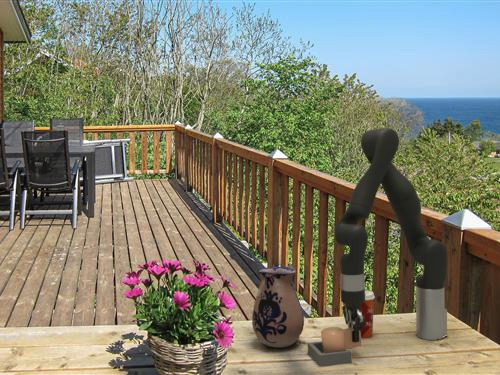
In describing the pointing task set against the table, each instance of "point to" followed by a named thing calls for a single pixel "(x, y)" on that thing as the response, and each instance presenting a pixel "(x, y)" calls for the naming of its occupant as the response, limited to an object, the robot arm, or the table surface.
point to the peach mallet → (338, 339)
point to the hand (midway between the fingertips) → (354, 340)
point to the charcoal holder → (328, 355)
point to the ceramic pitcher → (277, 308)
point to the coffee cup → (367, 314)
